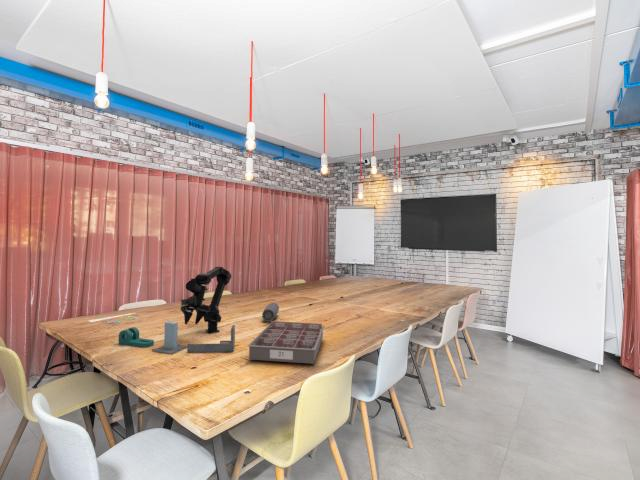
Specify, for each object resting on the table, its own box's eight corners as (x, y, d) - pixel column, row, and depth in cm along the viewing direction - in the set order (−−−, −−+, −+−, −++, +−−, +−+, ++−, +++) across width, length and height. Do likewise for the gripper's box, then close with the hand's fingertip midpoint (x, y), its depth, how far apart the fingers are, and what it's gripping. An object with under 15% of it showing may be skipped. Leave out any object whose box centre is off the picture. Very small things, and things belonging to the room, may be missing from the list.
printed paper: (135, 313, 243) (135, 311, 243) (156, 321, 226) (156, 319, 226) (88, 321, 219) (88, 318, 219) (108, 330, 202) (108, 328, 202)
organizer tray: (246, 362, 155) (247, 341, 155) (269, 337, 194) (269, 320, 194) (315, 367, 151) (315, 345, 151) (323, 340, 191) (324, 323, 191)
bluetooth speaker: (275, 323, 224) (275, 308, 224) (261, 323, 224) (261, 308, 224) (279, 315, 246) (279, 302, 246) (267, 315, 247) (267, 301, 246)
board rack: (190, 348, 171) (190, 325, 171) (234, 348, 174) (235, 325, 173) (187, 352, 165) (187, 328, 165) (233, 352, 168) (233, 328, 168)
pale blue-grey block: (167, 346, 172) (168, 321, 172) (177, 348, 170) (177, 322, 170) (164, 347, 169) (164, 322, 169) (173, 349, 168) (174, 323, 167)
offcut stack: (220, 349, 171) (220, 341, 171) (230, 349, 172) (230, 341, 172) (219, 351, 169) (219, 343, 169) (229, 351, 169) (229, 343, 169)
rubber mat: (170, 344, 177) (170, 343, 177) (188, 347, 173) (188, 345, 173) (152, 351, 166) (152, 350, 166) (171, 354, 162) (171, 353, 162)
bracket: (118, 344, 175) (118, 329, 175) (128, 341, 181) (129, 326, 181) (147, 348, 170) (147, 333, 170) (156, 344, 177) (157, 329, 177)
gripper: (176, 292, 185) (167, 321, 179) (196, 290, 175) (188, 320, 168) (192, 298, 193) (185, 325, 187) (213, 296, 183) (206, 325, 176)
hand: (190, 324), depth 179 cm, fingers open, 9 cm apart
